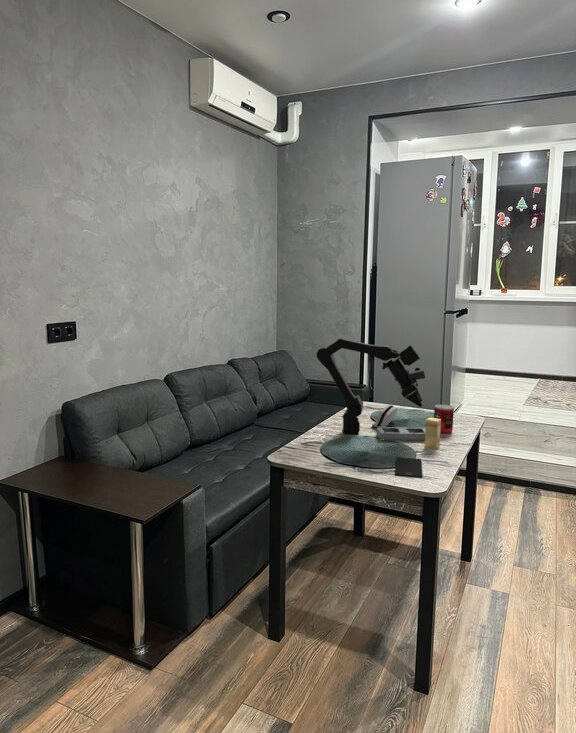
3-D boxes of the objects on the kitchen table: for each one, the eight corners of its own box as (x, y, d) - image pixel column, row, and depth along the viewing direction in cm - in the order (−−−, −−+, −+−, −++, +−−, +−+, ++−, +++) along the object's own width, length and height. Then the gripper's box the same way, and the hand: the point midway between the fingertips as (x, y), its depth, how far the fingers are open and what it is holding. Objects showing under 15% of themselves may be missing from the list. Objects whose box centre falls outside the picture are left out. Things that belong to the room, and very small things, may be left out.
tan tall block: (424, 447, 207) (425, 419, 206) (428, 444, 211) (429, 417, 210) (436, 449, 205) (437, 421, 203) (439, 446, 209) (441, 418, 207)
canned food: (433, 428, 235) (435, 403, 233) (452, 430, 232) (454, 405, 230) (432, 432, 227) (433, 407, 226) (452, 434, 225) (453, 409, 223)
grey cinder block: (380, 440, 216) (380, 433, 215) (376, 434, 225) (377, 427, 224) (429, 441, 216) (430, 433, 215) (424, 434, 224) (425, 427, 224)
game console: (382, 419, 249) (390, 400, 246) (392, 423, 247) (400, 404, 244) (370, 427, 234) (378, 407, 231) (380, 432, 233) (388, 412, 230)
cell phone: (394, 476, 177) (395, 473, 177) (396, 459, 194) (396, 456, 194) (422, 479, 175) (422, 476, 175) (421, 461, 193) (421, 458, 192)
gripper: (416, 364, 207) (439, 398, 206) (416, 358, 225) (437, 388, 224) (391, 380, 210) (414, 413, 210) (393, 372, 228) (414, 403, 227)
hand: (421, 403), depth 218 cm, fingers open, 9 cm apart
